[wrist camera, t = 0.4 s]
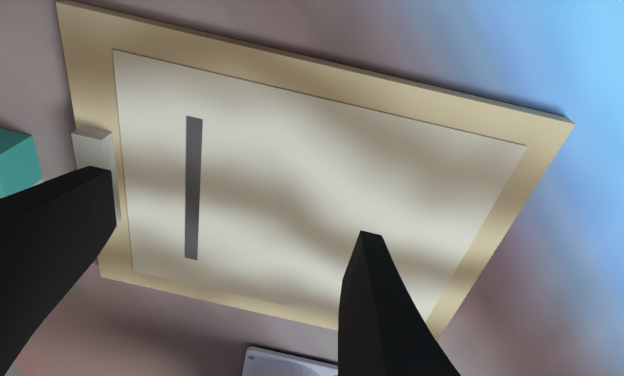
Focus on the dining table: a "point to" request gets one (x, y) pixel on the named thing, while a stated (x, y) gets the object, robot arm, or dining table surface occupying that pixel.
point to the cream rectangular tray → (289, 168)
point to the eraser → (17, 163)
